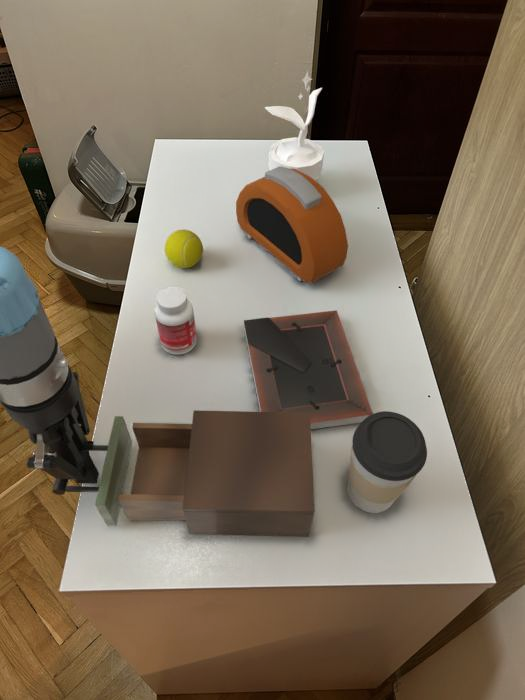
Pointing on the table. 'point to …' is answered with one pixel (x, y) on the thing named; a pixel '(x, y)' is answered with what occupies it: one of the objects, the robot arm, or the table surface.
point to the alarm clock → (294, 222)
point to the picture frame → (306, 368)
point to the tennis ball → (183, 248)
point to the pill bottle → (175, 321)
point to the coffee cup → (384, 460)
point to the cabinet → (249, 474)
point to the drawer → (141, 472)
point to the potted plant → (297, 140)
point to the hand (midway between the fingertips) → (88, 478)
